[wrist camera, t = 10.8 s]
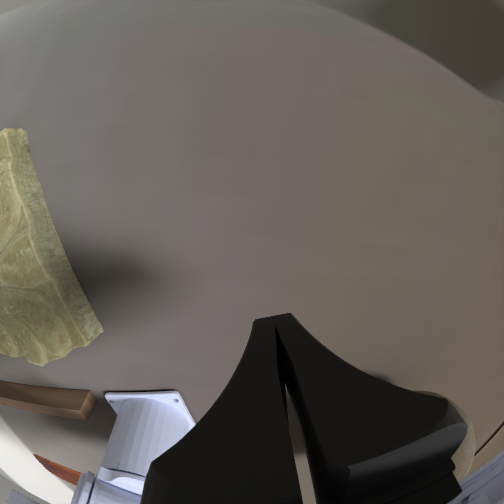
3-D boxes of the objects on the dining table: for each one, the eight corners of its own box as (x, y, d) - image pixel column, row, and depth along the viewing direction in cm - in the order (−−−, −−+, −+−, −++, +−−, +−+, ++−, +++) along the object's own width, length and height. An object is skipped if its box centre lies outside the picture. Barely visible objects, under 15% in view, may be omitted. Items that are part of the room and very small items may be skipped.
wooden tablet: (161, 491, 32) (160, 499, 30) (165, 507, 35) (164, 513, 33) (30, 446, 29) (27, 452, 28) (47, 469, 32) (45, 475, 31)
